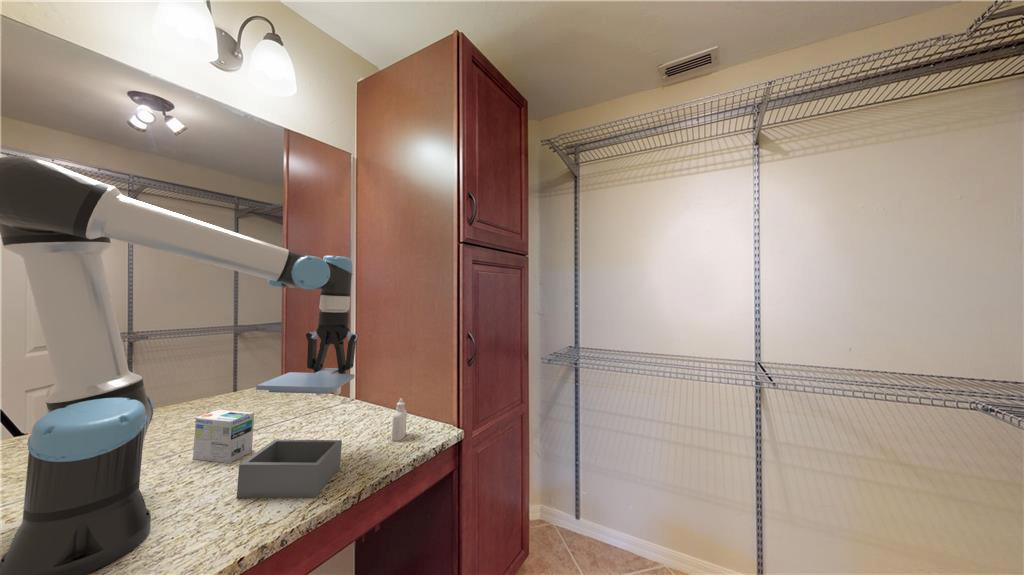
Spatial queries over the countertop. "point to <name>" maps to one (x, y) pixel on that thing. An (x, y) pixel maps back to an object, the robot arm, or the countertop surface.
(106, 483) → the robot arm
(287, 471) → the tub
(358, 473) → the countertop surface
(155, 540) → the countertop surface
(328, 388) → the lid
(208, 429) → the light bulb box
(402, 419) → the eye dropper bottle
